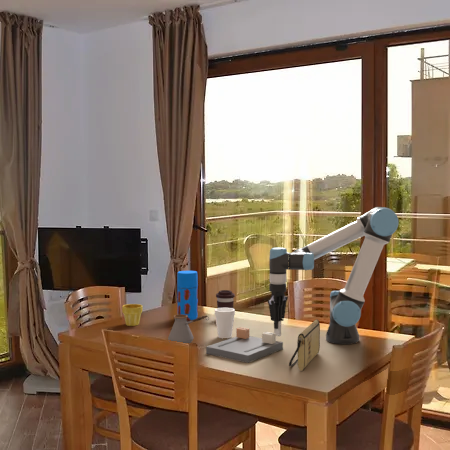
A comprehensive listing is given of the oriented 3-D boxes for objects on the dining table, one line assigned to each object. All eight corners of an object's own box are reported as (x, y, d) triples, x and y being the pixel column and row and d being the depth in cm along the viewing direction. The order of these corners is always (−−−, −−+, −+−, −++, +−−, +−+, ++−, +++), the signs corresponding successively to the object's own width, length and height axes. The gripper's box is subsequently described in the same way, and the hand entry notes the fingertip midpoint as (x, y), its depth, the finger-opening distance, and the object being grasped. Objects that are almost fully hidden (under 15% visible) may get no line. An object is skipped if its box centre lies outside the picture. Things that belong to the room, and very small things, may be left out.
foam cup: (237, 335, 293) (237, 308, 292) (229, 340, 284) (229, 312, 283) (219, 333, 297) (219, 307, 296) (211, 338, 288) (211, 310, 287)
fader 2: (275, 342, 267) (275, 333, 267) (271, 344, 265) (271, 334, 265) (266, 340, 270) (266, 331, 270) (262, 342, 268) (262, 332, 268)
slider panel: (282, 348, 269) (282, 341, 269) (248, 362, 249) (248, 355, 249) (242, 340, 283) (242, 334, 283) (206, 353, 262) (206, 346, 262)
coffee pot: (162, 344, 277) (162, 311, 276) (179, 339, 286) (179, 307, 285) (199, 352, 264) (199, 318, 263) (216, 346, 273) (215, 313, 272)
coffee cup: (217, 316, 334) (217, 289, 333) (235, 317, 332) (235, 289, 331) (214, 320, 324) (214, 292, 323) (233, 321, 322) (233, 293, 321)
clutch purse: (304, 351, 265) (304, 317, 264) (320, 353, 263) (321, 318, 262) (285, 371, 238) (285, 333, 237) (303, 373, 235) (303, 335, 234)
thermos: (197, 320, 324) (196, 273, 323) (176, 320, 324) (176, 273, 323) (198, 316, 335) (198, 270, 333) (178, 316, 335) (178, 270, 334)
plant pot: (146, 325, 314) (146, 306, 314) (127, 327, 309) (127, 308, 308) (137, 321, 323) (137, 302, 322) (119, 323, 317) (118, 305, 316)
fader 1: (249, 337, 276) (249, 328, 276) (245, 338, 274) (245, 329, 273) (240, 335, 279) (240, 327, 279) (236, 337, 277) (236, 328, 276)
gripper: (278, 280, 279) (278, 331, 280) (262, 283, 269) (262, 337, 270) (292, 281, 274) (292, 333, 276) (276, 285, 264) (276, 339, 266)
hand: (277, 335), depth 273 cm, fingers closed
